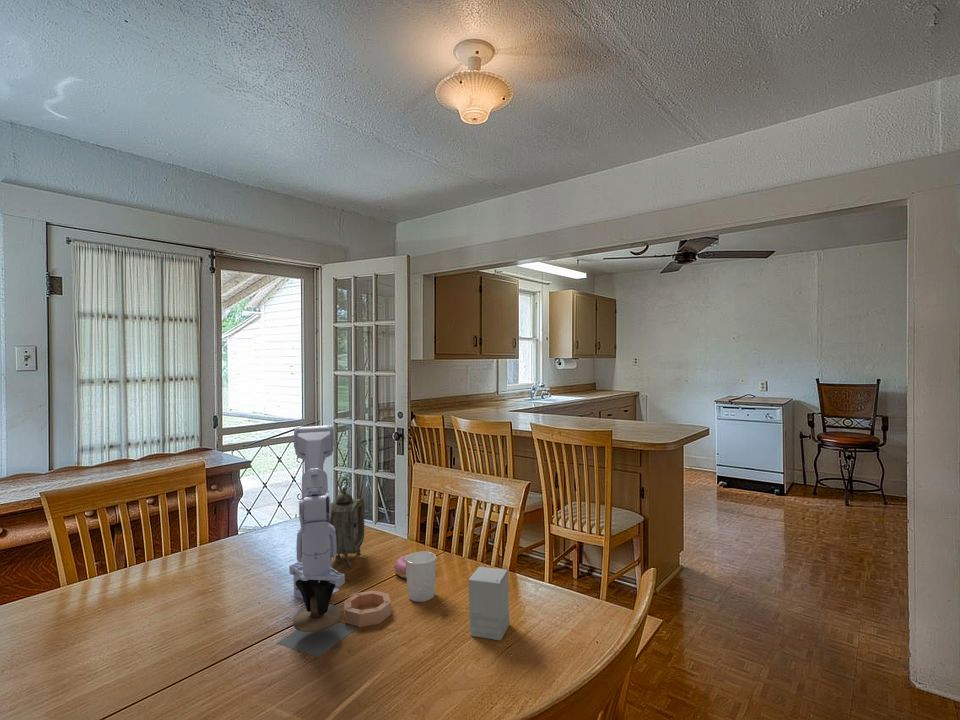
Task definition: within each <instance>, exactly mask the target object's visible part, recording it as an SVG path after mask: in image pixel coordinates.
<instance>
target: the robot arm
mask: <svg viewBox="0 0 960 720" xmlns="http://www.w3.org/2000/svg"><path fill="white" fill-rule="evenodd" d="M293 444H294V445H293V446H294V451H295V455H296V458H298V459H301V460H303V461H304V463H305V465H306V471H305V472H304V473H303V474H302V476H301V497H300V498H301V499H299V503H298V515H299V516H298V518H299V522H300V528H299V529H298V531H297V534H296V546H295V547H296V549H295V550H296V560H297V561H296V562H294V563H293V564H290V565H289V575H291V576H293V593H291V594H290V595H291V596H292V597H295V598H300V599H302V600H303V602H304V605H305V608H306V609H307V612H310V597H311V596H313V595H316V599H317V609H318V614H319V615H323V614H324V613H326V612H327V611H328V606H329V604H330V601H331V598H332V595H333V594H335V593H336V592H338V591H339V590H340V588H339V587H341V586H343V585H344V584H346V577H345V576H346V575H345V573H342V572H339V571H338V570H336V569H334V568H333V566H332V562H333V559H335V557H336V556H337V554H336V534H335V528H334V526H333V525H331V524H329V521H330V517H331V503H332V502H331V497H330V492H329V486H328V485H329V484H328V473H327V472H326V471H325V470H324V464H325V462H326V459H327V458H329V457H330V456H332V455H333V452H334V446H335V430H334V426H333V425H332V424H329V425H327V424H326V425H313V426H312V425H311V426H295V428H294V430H293ZM327 513H328V515H329V520H328V519H327V518H326V514H327ZM337 587H338V588H337Z"/></svg>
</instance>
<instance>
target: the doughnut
mask: <svg viewBox="0 0 960 720" xmlns="http://www.w3.org/2000/svg"><path fill="white" fill-rule="evenodd" d="M409 554H410V553H409ZM409 554H408V553H407V554H404V555H402V556H400V557H399V558H397V560H396V561H395V562H394V563H395V564H394V567H393V568H394V571H395V574H397V576H399V577H401V578H403V579H407V576H406V561H405V558H406V556H407V555H409Z"/></svg>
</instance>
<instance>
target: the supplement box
mask: <svg viewBox="0 0 960 720" xmlns="http://www.w3.org/2000/svg"><path fill="white" fill-rule="evenodd" d="M509 597H510V595H509V572H508V569H504V568H503V569H502V568H495V567H494V568H493V567H486V566H478V567H477V568H476V569H475V571H473V574H472V575H471V576H470V577H469V579H468V601H469V603H468V605H469V606H468V607H469V611H468V612H469V632H470V633H469V634H470V636H471V637H477V638H484V639H490V640H495V641H500V642H501V641H502V639H503V637H504V635H505V634H506V631H507V630H508V628H509V625H510V604H509V603H510V602H509V601H510V599H509Z"/></svg>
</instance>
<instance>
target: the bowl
mask: <svg viewBox="0 0 960 720" xmlns="http://www.w3.org/2000/svg"><path fill="white" fill-rule="evenodd" d="M343 615H344V624H347V625H350V626H355V627H359V628H362V627H368V626H374V625H379V624H382V622H384V621H385V620H386V619H388V618H389V617H391V616H392V600H391V598H390V594H389V593H386V592H382V591H378V590H369V591H362V592H356V593H354V594H353V595H351V596H350V597H348V598H346V599H344V601H343Z"/></svg>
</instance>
